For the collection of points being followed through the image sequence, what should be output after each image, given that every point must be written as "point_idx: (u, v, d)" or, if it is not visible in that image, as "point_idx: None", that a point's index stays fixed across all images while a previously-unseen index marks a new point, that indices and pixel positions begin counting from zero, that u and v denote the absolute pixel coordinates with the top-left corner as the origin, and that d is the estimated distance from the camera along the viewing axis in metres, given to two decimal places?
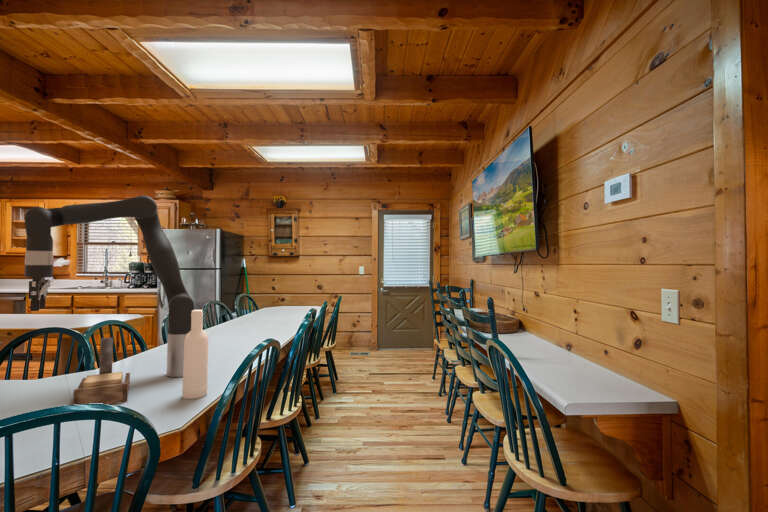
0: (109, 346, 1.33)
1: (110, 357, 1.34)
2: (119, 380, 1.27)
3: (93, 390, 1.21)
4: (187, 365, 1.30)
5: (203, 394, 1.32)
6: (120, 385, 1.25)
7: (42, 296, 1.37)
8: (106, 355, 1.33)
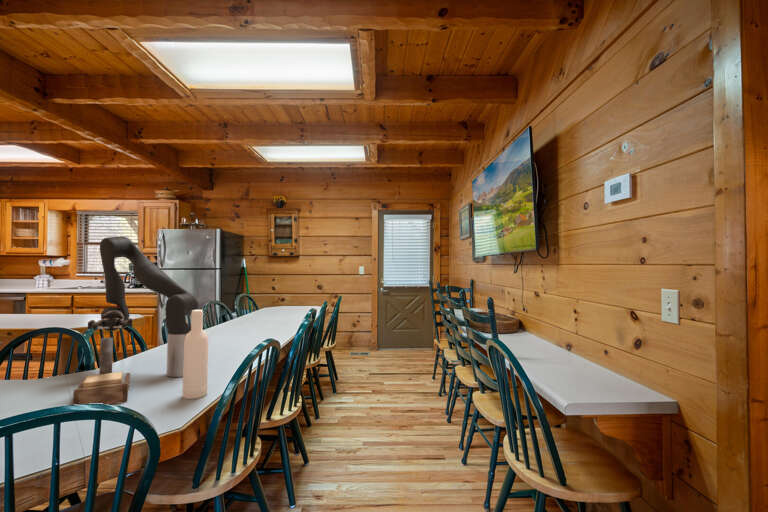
0: (109, 346, 1.33)
1: (110, 357, 1.34)
2: (119, 380, 1.27)
3: (93, 390, 1.21)
4: (187, 365, 1.30)
5: (203, 394, 1.32)
6: (120, 385, 1.25)
7: None
8: (106, 355, 1.33)
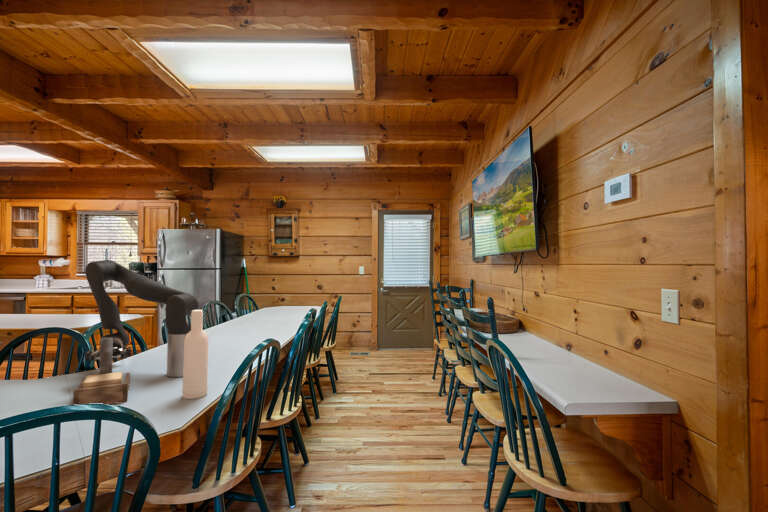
0: (109, 346, 1.33)
1: (110, 357, 1.34)
2: (119, 380, 1.27)
3: (93, 390, 1.21)
4: (187, 365, 1.30)
5: (203, 394, 1.32)
6: (120, 385, 1.25)
7: None
8: (106, 355, 1.33)
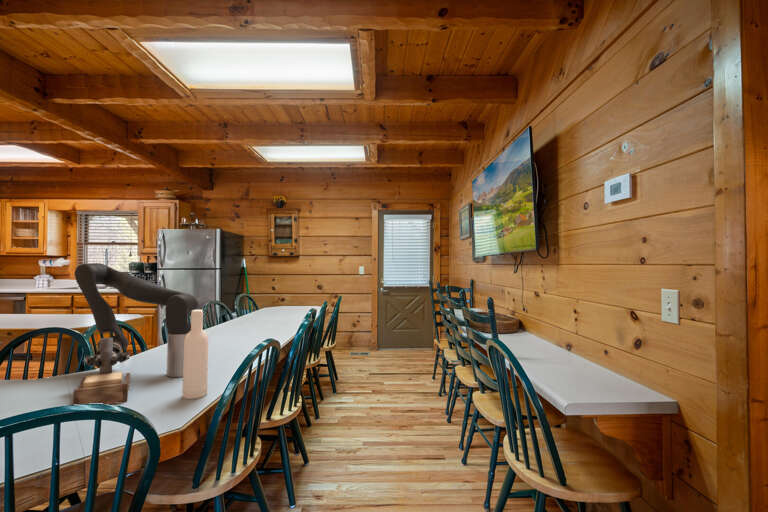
0: (109, 346, 1.33)
1: (110, 357, 1.34)
2: (119, 380, 1.27)
3: (93, 390, 1.21)
4: (187, 365, 1.30)
5: (203, 394, 1.32)
6: (120, 385, 1.25)
7: None
8: (106, 355, 1.33)
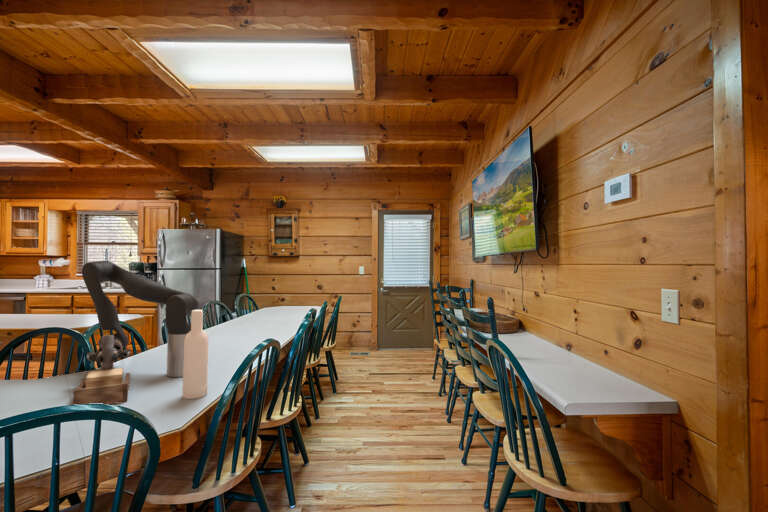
0: (110, 343, 1.38)
1: (111, 354, 1.38)
2: (120, 376, 1.32)
3: (93, 390, 1.21)
4: (187, 365, 1.30)
5: (203, 394, 1.32)
6: (120, 385, 1.25)
7: None
8: (108, 352, 1.37)
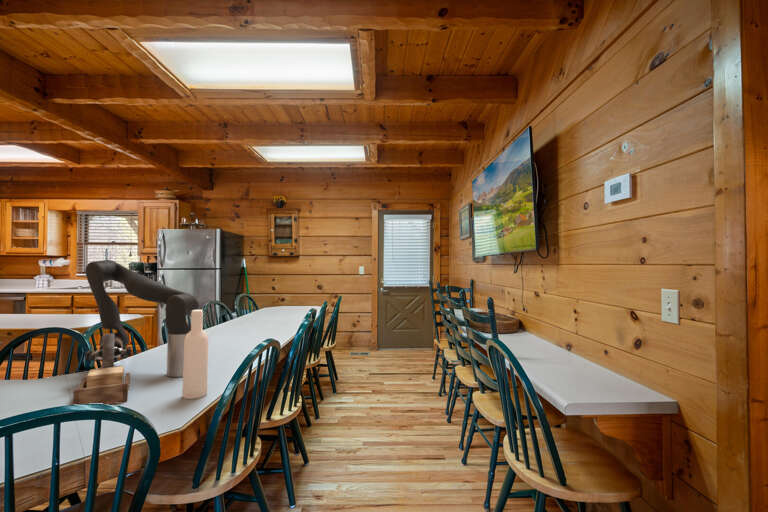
0: (111, 341, 1.40)
1: (112, 352, 1.41)
2: (121, 373, 1.34)
3: (93, 390, 1.21)
4: (187, 365, 1.30)
5: (203, 394, 1.32)
6: (120, 385, 1.25)
7: None
8: (109, 350, 1.40)
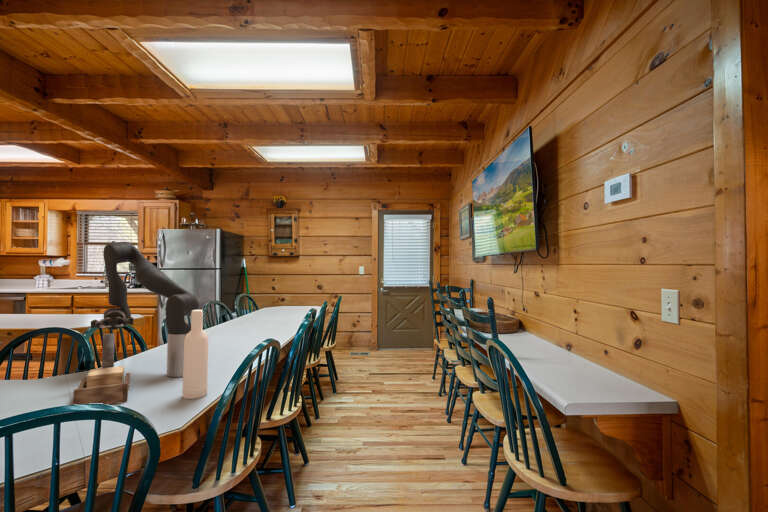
0: (111, 341, 1.40)
1: (112, 352, 1.41)
2: (121, 373, 1.34)
3: (93, 390, 1.21)
4: (187, 365, 1.30)
5: (203, 394, 1.32)
6: (120, 385, 1.25)
7: None
8: (109, 350, 1.40)
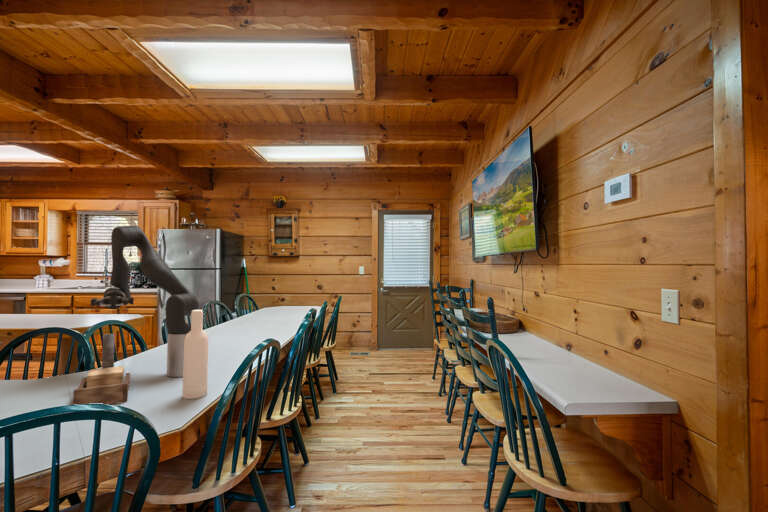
0: (111, 341, 1.40)
1: (112, 352, 1.41)
2: (121, 373, 1.34)
3: (93, 390, 1.21)
4: (187, 365, 1.30)
5: (203, 394, 1.32)
6: (120, 385, 1.25)
7: None
8: (109, 350, 1.40)
